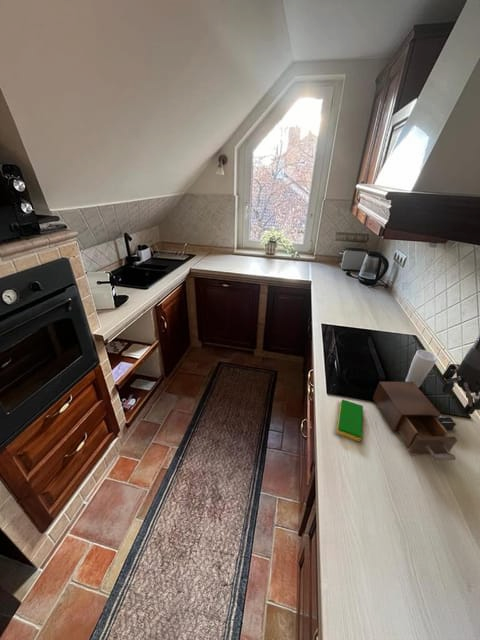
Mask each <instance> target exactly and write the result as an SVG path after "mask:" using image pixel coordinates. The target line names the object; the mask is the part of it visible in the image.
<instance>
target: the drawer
mask: <svg viewBox="0 0 480 640" xmlns="http://www.w3.org/2000/svg"><path fill="white" fill-rule="evenodd" d="M397 429H398V430H399V432H398V433H399V434H400V435H401V436H402V438H403V440H404V441H405V443H406V444H407V446H408V447H409V448H408V452H409V455H430V458H431V459H432V460H433V461H455V460H456V459H457V457H456V455H455V454H453V453H451V450H452V449H453V447H454V446H455V445H456V443H457V442H458V439H457V437H455V436H448V435H449V432H448V430H446V429H445V428H444V427H443V426H442V424H441V423H440V422H439V421H438V419H437V418H436V417H435V416H403V418H402V420H401V422H400V424H399V426H398V428H397Z"/></svg>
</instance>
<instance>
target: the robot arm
mask: <svg viewBox="0 0 480 640" xmlns="http://www.w3.org/2000/svg"><path fill="white" fill-rule="evenodd" d="M454 376H456V377H454ZM441 377H442V378H443V379H445V384H444V385H443V387H442V393H443V394H451V392H452V390H453V389H454V387H455V384H456V385H457V386H458V387H459V388H461V391H463V392H464V393H465V398H467V403H466V405H465V406H464V408H463V410H462V411H461V413H462V414H463V415H473V414H474V412H475V411H480V334H478V336H477V338H476V340H475V341H474V343H473V344H472V346H471V347H470V348H469V349H468V351H467V352H466V354H465V356H464V357H463V359H462V361H461V362H460V364H459V363H450V364H448V366H447V367H446V369H445V371H444V372H443V374H442V376H441ZM472 394H473V395H472Z"/></svg>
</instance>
